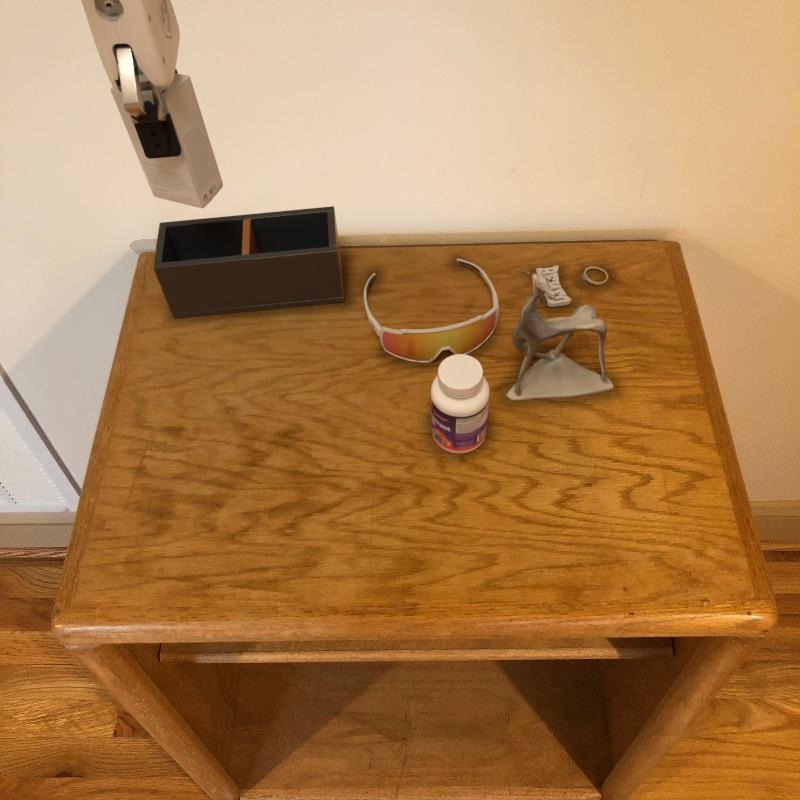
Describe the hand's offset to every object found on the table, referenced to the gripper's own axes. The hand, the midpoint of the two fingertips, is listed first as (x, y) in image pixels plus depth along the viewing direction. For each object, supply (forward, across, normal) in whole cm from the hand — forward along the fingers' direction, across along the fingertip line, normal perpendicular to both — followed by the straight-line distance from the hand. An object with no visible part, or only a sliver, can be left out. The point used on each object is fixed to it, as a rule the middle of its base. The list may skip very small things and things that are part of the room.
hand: (167, 131), depth 73 cm
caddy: (+21, 0, -5) cm, 22 cm away
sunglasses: (+22, -6, -24) cm, 33 cm away
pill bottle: (+22, -22, -25) cm, 40 cm away
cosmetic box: (+7, 0, 0) cm, 7 cm away
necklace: (+21, -4, -37) cm, 43 cm away
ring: (+22, -3, -43) cm, 48 cm away
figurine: (+22, -16, -36) cm, 45 cm away
